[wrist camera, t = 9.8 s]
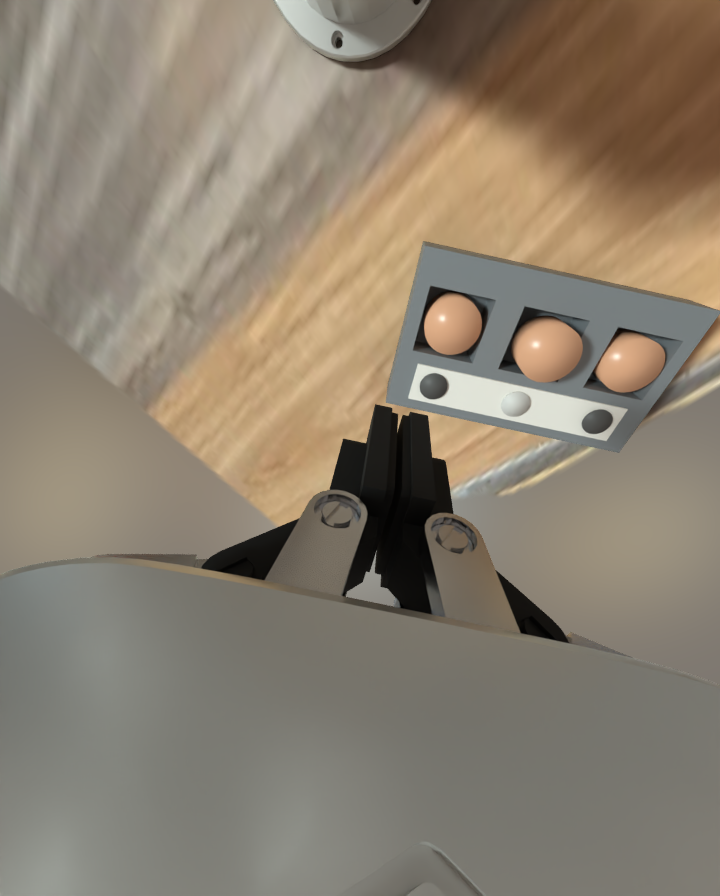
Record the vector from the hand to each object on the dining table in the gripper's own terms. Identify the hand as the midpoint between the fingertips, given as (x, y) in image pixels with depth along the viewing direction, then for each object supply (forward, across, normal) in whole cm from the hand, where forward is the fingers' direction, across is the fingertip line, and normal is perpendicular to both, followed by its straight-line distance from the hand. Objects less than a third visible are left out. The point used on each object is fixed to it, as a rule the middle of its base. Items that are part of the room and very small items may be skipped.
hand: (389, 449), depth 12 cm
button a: (+26, -5, +1) cm, 26 cm away
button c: (+26, -21, +2) cm, 33 cm away
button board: (+27, -13, +3) cm, 30 cm away
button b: (+24, -13, +1) cm, 27 cm away
